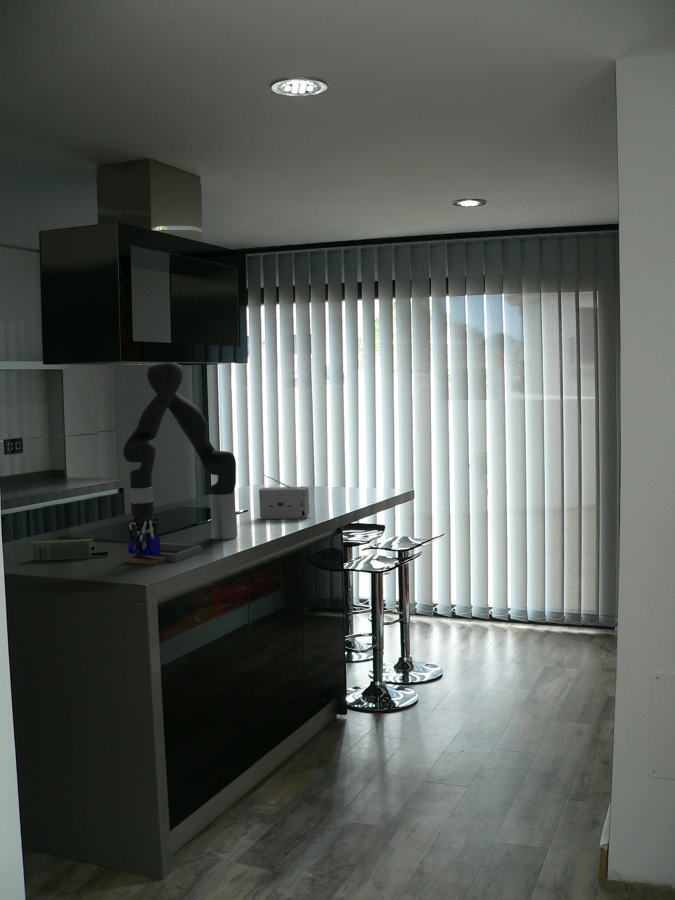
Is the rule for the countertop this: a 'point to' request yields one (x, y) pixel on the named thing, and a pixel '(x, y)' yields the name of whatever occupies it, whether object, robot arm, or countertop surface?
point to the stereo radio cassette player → (284, 502)
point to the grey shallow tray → (182, 550)
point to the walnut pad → (144, 559)
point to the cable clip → (150, 551)
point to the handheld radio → (64, 549)
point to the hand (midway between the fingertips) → (144, 550)
